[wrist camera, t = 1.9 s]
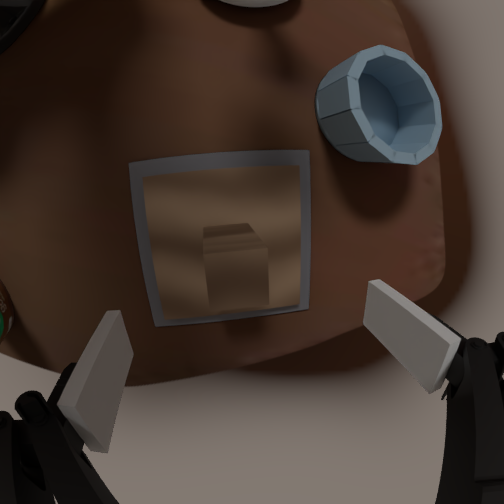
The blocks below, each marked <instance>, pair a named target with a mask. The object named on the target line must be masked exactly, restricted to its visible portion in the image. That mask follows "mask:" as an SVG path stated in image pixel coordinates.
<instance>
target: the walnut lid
mask: <svg viewBox="0 0 504 504" xmlns="http://www.w3.org/2000/svg"><path fill="white" fill-rule="evenodd" d="M142 179H143V190H144V199H145V208H146V217H147V225H148V232H149V239H150V246H151V252H152V258H153V264H154V270H155V275H156V281H157V286H158V291H159V296H160V301H161V306H162V310H163V315H164V319H165V320H169V319H181V318H192V317H203V316H212V315H222V314H231V313H239V312H247V311H255V310H263V309H270V308H277V307H284V306H291V305H297V304H300V275H301V204H300V166H299V165H283V166H255V167H236V168H221V169H209V170H198V171H188V172H178V173H170V174H161V175H154V176H146V177H142Z"/></svg>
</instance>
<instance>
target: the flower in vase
mask: <svg viewBox="0 0 504 504" xmlns="http://www.w3.org/2000/svg"><path fill="white" fill-rule="evenodd" d="M220 1H223V2H225V3H229V4H232V5H237V6H244V7H266V6H273V5H277V4H281V3H284V2H286V1H288V0H220Z"/></svg>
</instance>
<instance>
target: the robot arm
mask: <svg viewBox="0 0 504 504" xmlns="http://www.w3.org/2000/svg"><path fill="white" fill-rule="evenodd" d="M43 2H44V0H0V54H1V53H2V52H3V51H4V50H5V49H6V48H8V47H9V46H10V45H11V44H12V43H13V42H14V41H15V40H16V38H17V37H18V36H19V35H20V34H21V33H22V32H23V31H24V29H25V28H26V27H27V26H28V24H29V23H30V22H31V21H32V19H33V18H34V17H35V15H36V14H37V12H38V11H39V9H40V7H41V6H42V4H43ZM363 324H364V325H365V326H366V327H367V328H368V329H369V330H370V332H371V333H372V334H373V335H374V336H376V338H377V339H378V340H379V341H380V342H381V343H382V344H383V345H384V346H385V347H386V348H387V349H388V350H389V351H390V352H391V353H392V354H393V355H394V357H395V358H396V359H397V360H398V361H399V362H400V363H401V364H402V365H403V366H404V367H405V368H406V369H407V370H408V372H409V373H410V374H411V375H412V376H413V377H414V378H415V379H416V380H417V381H418V382H419V383H420V385H421V386H422V387H423V388H424V389H425V390H426V391H427V392H428V393H429V394H431V393H433V392H434V391H436V390H438V389H440V388H441V386H442V384H443V382H444V380H445V378H446V379H447V380H448V381H449V383H448V385H447V387H446V390H445V391H444V394H443V396H442V398H441V400H443V399H444V397H445V396H446V395H447V399H446V400H447V420H446V437H445V448H444V457H443V464H442V471H441V477H440V484H439V488H438V493H437V498H436V502H435V504H504V380H503V378H502V375H503V373H504V332H500V333H499V334H497V337H496V339H495V342H493V343H487V342H486V341H484V340H482V339H480V338H469V339H468V340H467V339H466V338H464V337H463V336H462V335H460V334H459V333H458V332H457V331H455V330H454V329H453V328H451V327H449V326H448V325H447V324H446V323H443V321H442V320H440V319H439V318H437V317H436V316H434V315H431V314H429V313H426V312H425V311H424V310H422V309H421V308H420V307H418V306H417V305H415V304H414V303H413V302H411V301H410V300H409V299H407V298H406V297H404V296H403V295H401V294H400V293H399V292H397V291H396V290H394V289H393V288H391V287H390V286H389V285H387V284H386V283H384V282H383V281H381V280H380V279H378V280H373V281H369V282H368V291H367V299H366V306H365V313H364V320H363ZM133 355H134V353H133V350H132V347H131V344H130V341H129V338H128V335H127V332H126V328H125V325H124V321H123V318H122V314H121V311H120V310H114V311H107V312H106V313H105V315H104V317H103V318H102V320H101V322H100V323H99V325H98V327H97V329H96V330H95V332H94V334H93V335H92V337H91V339H90V341H89V343H88V344H87V346H86V348H85V350H84V352H83V353H82V355H81V357H80V359H79V361H78V363H70V364H69V365H68V366H67V367H66V368H65V369H64V370H63V372H62V374H61V376H60V379H58V381H57V383H56V386H55V387H54V389H53V391H52V393H51V395H50V397H49V399H48V401H47V402H46V400H45V399H44V397H43V396H42V394H41V393H40V392H38V391H27V392H25V393H23V394H21V395H20V396H19V397H18V399H17V400H16V402H15V410H16V411H17V413H18V414H19V415H20V417H21V418H22V419H23V420H14V419H13V418H12V416H11V415H10V414H9V413H8V412H6V411H0V504H55V500H54V496H55V498H56V500H57V502H58V504H119V503H118V501H117V500H116V499H115V498H114V496H113V495H112V494H111V492H110V491H109V489H108V488H107V487H106V485H105V484H104V482H103V481H102V480H101V478H100V476H99V475H98V473H97V472H96V470H95V469H94V467H93V466H92V464H91V462H90V461H89V459H88V457H87V456H86V454H85V453H84V452H83V451H82V449H83V445H84V443H85V444H86V446H87V447H88V448H89V449H90V450H91V451H94V452H101V453H108V449H109V445H110V440H111V436H112V432H113V428H114V423H115V419H116V415H117V411H118V407H119V404H120V400H121V396H122V392H123V389H124V385H125V382H126V378H127V375H128V371H129V368H130V365H131V362H132V358H133ZM53 494H54V496H53Z"/></svg>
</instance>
